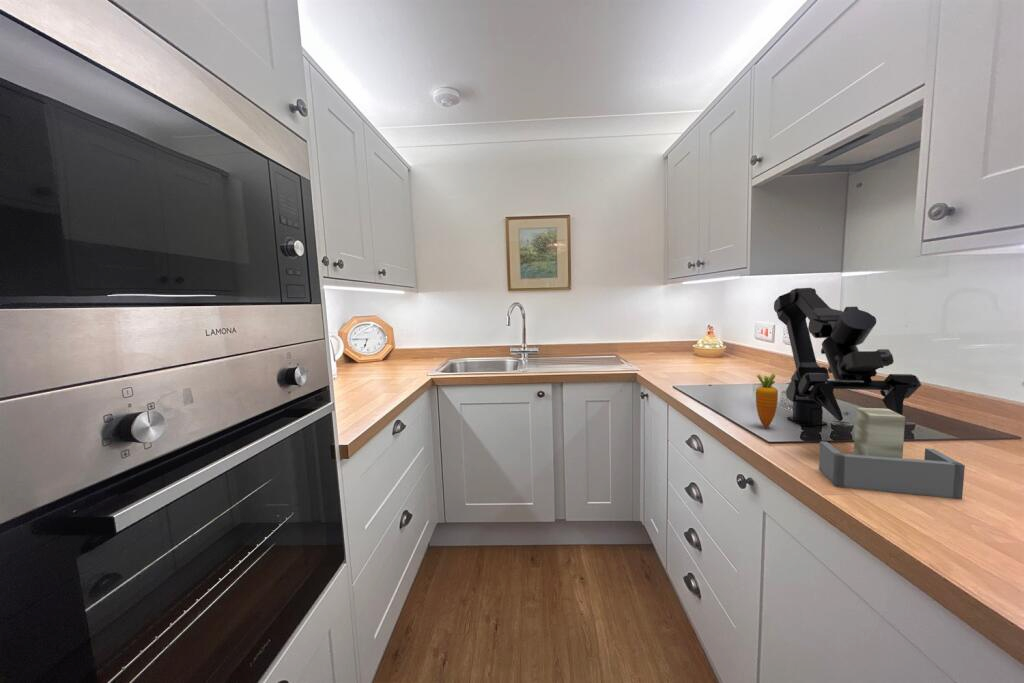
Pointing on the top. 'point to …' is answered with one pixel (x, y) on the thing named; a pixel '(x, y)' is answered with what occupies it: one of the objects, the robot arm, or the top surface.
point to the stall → (894, 472)
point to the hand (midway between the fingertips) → (869, 421)
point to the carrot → (766, 400)
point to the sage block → (879, 433)
